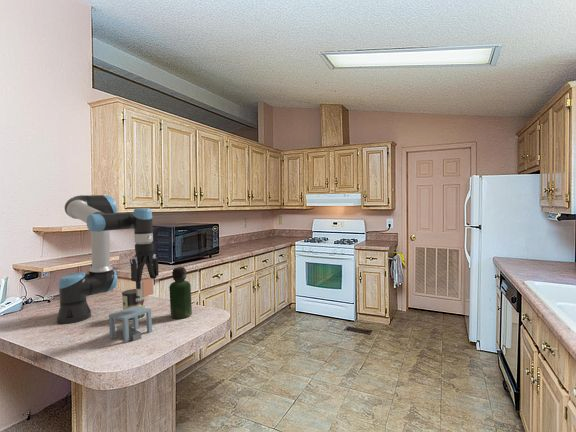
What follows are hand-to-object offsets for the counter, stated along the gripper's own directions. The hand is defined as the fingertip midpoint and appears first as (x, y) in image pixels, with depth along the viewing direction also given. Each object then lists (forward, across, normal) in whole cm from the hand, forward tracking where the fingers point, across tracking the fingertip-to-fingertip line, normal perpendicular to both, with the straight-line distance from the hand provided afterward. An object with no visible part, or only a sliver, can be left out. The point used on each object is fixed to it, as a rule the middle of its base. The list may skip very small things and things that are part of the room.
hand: (146, 294), depth 146 cm
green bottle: (+18, +23, +3) cm, 29 cm away
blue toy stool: (+18, -5, +4) cm, 19 cm away
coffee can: (+19, +10, +24) cm, 32 cm away
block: (0, 0, +1) cm, 1 cm away
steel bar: (+18, -5, +6) cm, 20 cm away
